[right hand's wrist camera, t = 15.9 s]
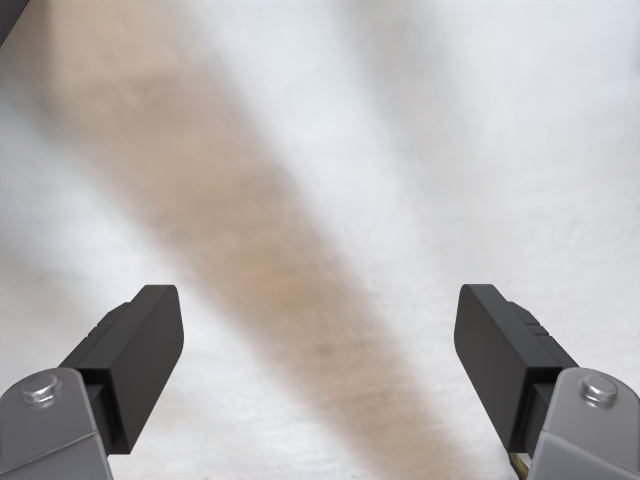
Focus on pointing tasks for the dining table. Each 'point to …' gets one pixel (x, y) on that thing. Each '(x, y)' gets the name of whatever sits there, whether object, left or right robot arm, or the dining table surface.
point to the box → (9, 15)
